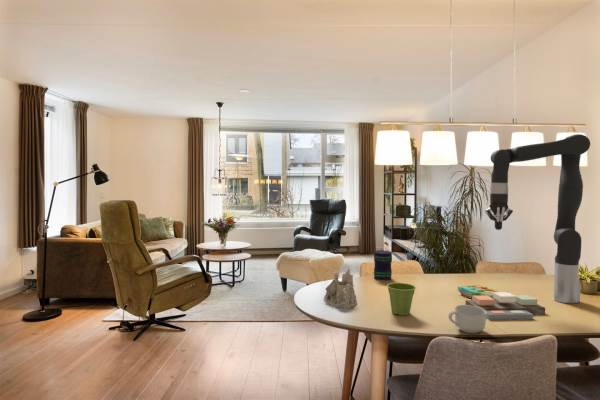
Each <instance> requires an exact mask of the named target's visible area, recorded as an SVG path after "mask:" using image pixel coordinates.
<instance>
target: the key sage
mask: <svg viewBox="0 0 600 400" xmlns="http://www.w3.org/2000/svg"><path fill="white" fill-rule="evenodd" d="M513 295H514V294H513ZM514 296H516V302H517V303H519V304H520V305H537V304H538V299H537V298H535V297H534V296H533V297H532V296H531V295H529V294H525V295H523V294H522V295H521V294H519V295H518V294H515V295H514Z"/></svg>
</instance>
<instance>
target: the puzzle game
mask: <svg viewBox="0 0 600 400" xmlns="http://www.w3.org/2000/svg"><path fill="white" fill-rule="evenodd" d="M457 290H458V292H459V293H460V294H461V295H462V296H464V297H468V298H469V299H472V296H485V295H487V296H489V297H491V298H493V292H499V291H497V290H494V289H492V288H489V287H487V286H484V285H480V284H475V285H465V286H464V285H463V286H457ZM493 299H494V298H493ZM494 300H496V299H494Z"/></svg>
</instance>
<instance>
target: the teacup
mask: <svg viewBox="0 0 600 400" xmlns="http://www.w3.org/2000/svg"><path fill="white" fill-rule="evenodd" d="M486 314H487V312H486V311H485V310H484V309H482V308H480V307H476V306H471V305H465V304H458V305H456V306H455V307H454V310H451V311H450V312H449V313H448V320H449V321H450V322H451V323H452V324H454V325H455V327H458V328H459V330H460V331H462V332H463V333H466V334H468V333H469V334H478V333H480V332H482V331H484V329H485V328H486V322H487V319H486ZM453 315H454V319H453Z"/></svg>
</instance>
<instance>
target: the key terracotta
mask: <svg viewBox="0 0 600 400" xmlns="http://www.w3.org/2000/svg"><path fill="white" fill-rule="evenodd" d="M471 300H472V301H473V302H475V303H476V304H478V305H479V306H487V305H495V300H494V299H493V298H491V297H489V296H487V295H485V296H472V298H471Z"/></svg>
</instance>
